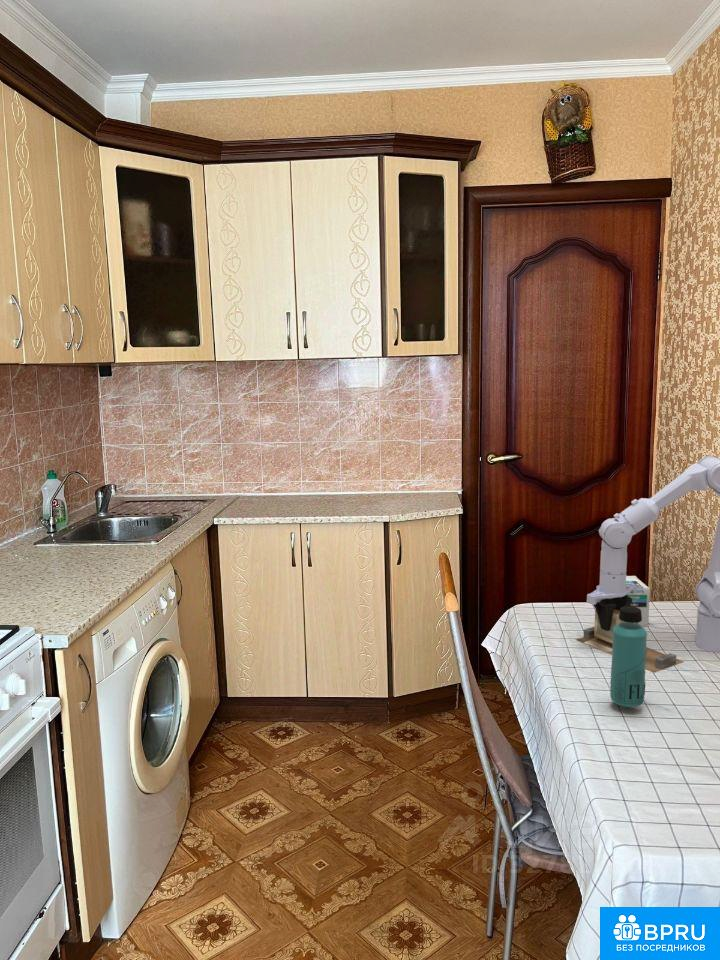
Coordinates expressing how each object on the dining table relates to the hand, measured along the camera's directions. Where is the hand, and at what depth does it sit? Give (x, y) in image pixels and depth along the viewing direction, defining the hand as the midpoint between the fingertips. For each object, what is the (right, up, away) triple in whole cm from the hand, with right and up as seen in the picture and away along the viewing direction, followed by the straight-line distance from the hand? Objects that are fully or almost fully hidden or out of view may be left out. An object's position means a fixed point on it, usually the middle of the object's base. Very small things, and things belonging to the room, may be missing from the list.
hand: (610, 627), depth 177 cm
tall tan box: (0, -3, +1) cm, 3 cm away
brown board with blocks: (+3, -5, -3) cm, 7 cm away
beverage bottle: (-6, -10, -28) cm, 31 cm away
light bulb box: (+10, -2, +16) cm, 19 cm away
